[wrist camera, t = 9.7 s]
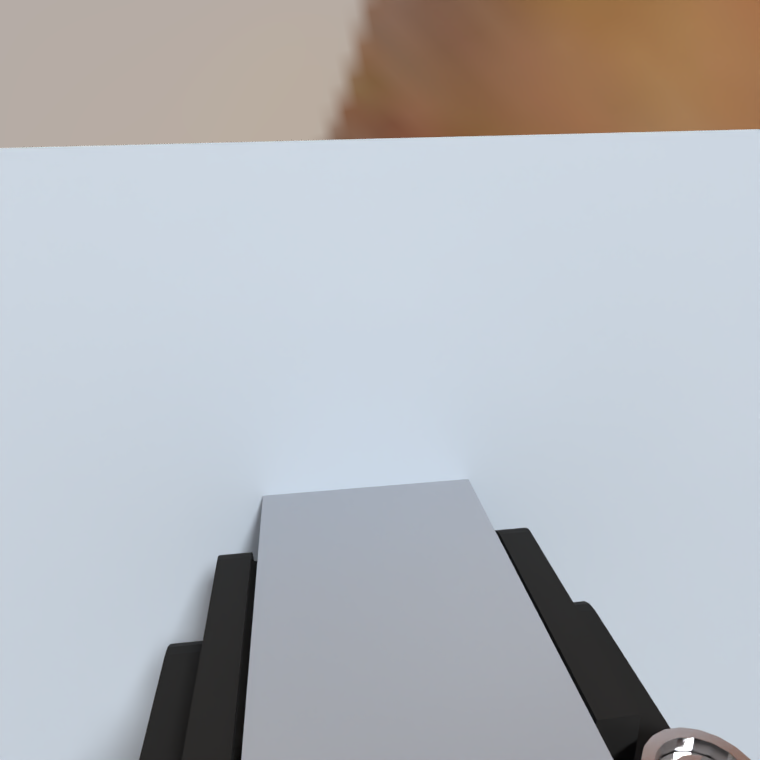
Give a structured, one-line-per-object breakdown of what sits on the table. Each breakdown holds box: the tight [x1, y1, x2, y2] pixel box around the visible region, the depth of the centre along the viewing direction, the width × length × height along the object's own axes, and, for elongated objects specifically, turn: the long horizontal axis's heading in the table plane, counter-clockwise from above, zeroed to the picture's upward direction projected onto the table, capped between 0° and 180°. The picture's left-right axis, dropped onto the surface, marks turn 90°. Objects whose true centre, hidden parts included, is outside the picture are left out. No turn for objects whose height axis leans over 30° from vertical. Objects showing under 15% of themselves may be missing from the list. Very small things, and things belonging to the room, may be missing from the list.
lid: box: [0, 129, 760, 760], centre depth 10 cm, size 19×15×7 cm
